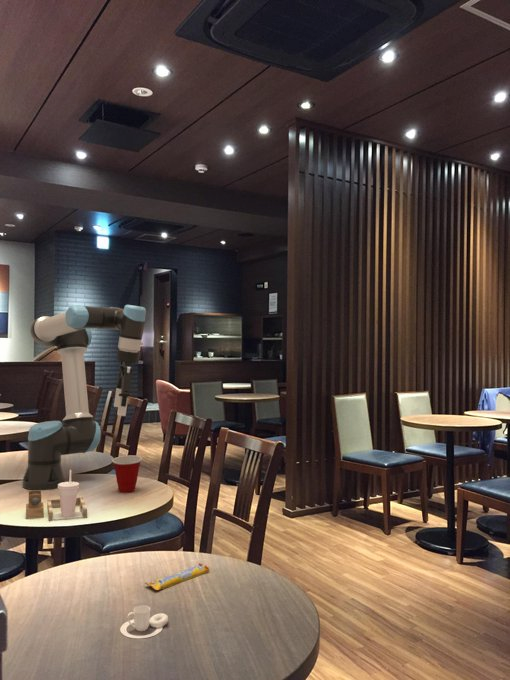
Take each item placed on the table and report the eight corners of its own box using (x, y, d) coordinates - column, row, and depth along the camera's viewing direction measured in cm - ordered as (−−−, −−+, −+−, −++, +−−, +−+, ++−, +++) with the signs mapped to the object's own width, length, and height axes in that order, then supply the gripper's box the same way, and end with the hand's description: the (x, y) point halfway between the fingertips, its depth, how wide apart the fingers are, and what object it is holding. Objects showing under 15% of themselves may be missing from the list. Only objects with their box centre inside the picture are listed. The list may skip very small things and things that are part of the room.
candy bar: (200, 568, 140) (200, 560, 140) (212, 573, 137) (212, 565, 137) (143, 589, 128) (143, 580, 128) (155, 595, 125) (155, 586, 125)
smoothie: (72, 519, 174) (73, 472, 175) (52, 517, 176) (53, 471, 176) (82, 513, 181) (83, 468, 181) (63, 511, 182) (64, 467, 182)
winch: (25, 513, 181) (26, 490, 181) (42, 511, 182) (43, 489, 182) (25, 519, 175) (26, 495, 175) (43, 517, 176) (44, 494, 176)
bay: (47, 507, 187) (47, 499, 187) (82, 504, 191) (82, 497, 191) (49, 521, 173) (49, 512, 173) (87, 517, 177) (87, 509, 177)
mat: (52, 514, 179) (52, 513, 179) (80, 512, 182) (80, 511, 182) (53, 520, 174) (53, 519, 174) (82, 517, 177) (82, 516, 177)
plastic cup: (104, 492, 207) (105, 459, 207) (122, 486, 217) (123, 454, 217) (130, 496, 203) (131, 462, 203) (147, 489, 213) (147, 456, 213)
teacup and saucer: (169, 620, 114) (169, 599, 114) (164, 641, 106) (164, 618, 106) (124, 620, 113) (125, 599, 113) (116, 641, 105) (116, 618, 105)
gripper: (144, 356, 187) (134, 420, 188) (135, 347, 210) (126, 404, 212) (121, 353, 184) (111, 418, 186) (114, 344, 208) (105, 402, 209)
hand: (119, 411), depth 199 cm, fingers open, 13 cm apart
